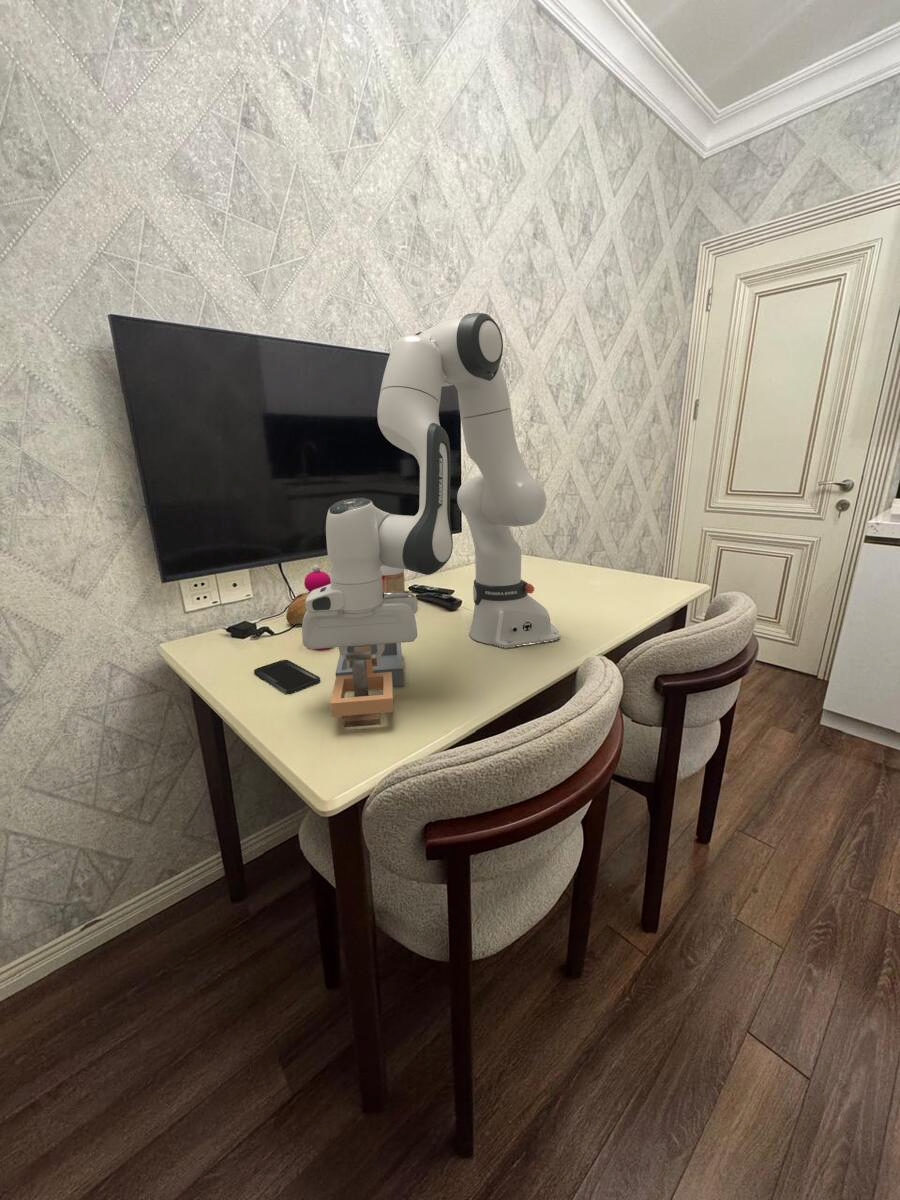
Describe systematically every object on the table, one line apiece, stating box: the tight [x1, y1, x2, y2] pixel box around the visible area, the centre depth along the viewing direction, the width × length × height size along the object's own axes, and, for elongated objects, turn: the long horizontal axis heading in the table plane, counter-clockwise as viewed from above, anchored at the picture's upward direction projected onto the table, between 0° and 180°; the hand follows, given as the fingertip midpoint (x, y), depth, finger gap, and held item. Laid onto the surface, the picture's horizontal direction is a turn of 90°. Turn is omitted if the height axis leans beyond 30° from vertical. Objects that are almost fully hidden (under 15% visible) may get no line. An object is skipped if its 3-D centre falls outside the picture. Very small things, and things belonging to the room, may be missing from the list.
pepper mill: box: [304, 564, 332, 651], centre depth 113 cm, size 7×7×20 cm
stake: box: [343, 651, 381, 728], centre depth 82 cm, size 6×6×12 cm
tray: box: [335, 643, 405, 687], centre depth 100 cm, size 13×15×4 cm
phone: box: [253, 659, 321, 695], centre depth 99 cm, size 8×1×15 cm
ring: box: [330, 646, 394, 718], centre depth 83 cm, size 10×12×7 cm
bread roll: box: [285, 591, 309, 625], centre depth 133 cm, size 10×15×8 cm, turn 126°
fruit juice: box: [380, 566, 406, 599], centre depth 136 cm, size 9×9×28 cm
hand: (363, 666), depth 88 cm, fingers closed on ring, 3 cm apart
